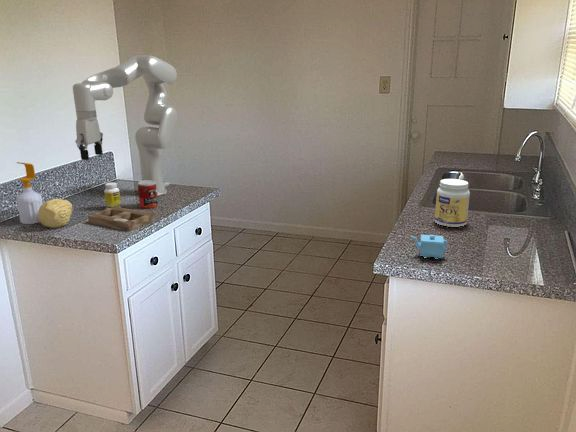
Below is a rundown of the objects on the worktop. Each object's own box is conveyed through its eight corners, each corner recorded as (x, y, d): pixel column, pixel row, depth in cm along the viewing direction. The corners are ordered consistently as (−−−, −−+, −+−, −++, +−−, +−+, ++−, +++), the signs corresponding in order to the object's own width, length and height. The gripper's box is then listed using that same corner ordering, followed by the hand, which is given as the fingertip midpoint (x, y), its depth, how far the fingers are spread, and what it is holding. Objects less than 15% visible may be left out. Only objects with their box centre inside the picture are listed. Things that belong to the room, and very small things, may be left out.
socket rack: (115, 213, 224) (114, 205, 223) (154, 220, 214) (153, 213, 213) (88, 222, 212) (87, 214, 211) (129, 231, 202) (128, 223, 201)
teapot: (409, 258, 174) (410, 237, 172) (409, 251, 180) (410, 230, 178) (447, 261, 172) (449, 239, 169) (446, 254, 177) (448, 233, 175)
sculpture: (58, 231, 203) (54, 204, 199) (33, 228, 207) (29, 201, 203) (79, 222, 213) (75, 196, 209) (55, 219, 217) (51, 194, 213)
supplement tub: (432, 226, 204) (435, 184, 198) (436, 217, 214) (439, 176, 209) (465, 230, 199) (470, 187, 194) (467, 220, 210) (472, 179, 205)
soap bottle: (15, 223, 212) (4, 163, 205) (33, 216, 220) (23, 158, 213) (33, 225, 209) (22, 164, 202) (50, 218, 217) (40, 160, 210)
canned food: (145, 210, 227) (142, 185, 224) (136, 206, 233) (134, 182, 230) (161, 206, 232) (159, 182, 229) (152, 202, 238) (150, 179, 234)
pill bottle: (116, 210, 227) (113, 185, 224) (103, 209, 228) (100, 185, 225) (123, 206, 233) (121, 182, 230) (110, 205, 234) (108, 181, 231)
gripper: (90, 111, 220) (96, 152, 226) (64, 118, 204) (71, 161, 210) (106, 112, 219) (112, 153, 224) (81, 118, 203) (88, 162, 208)
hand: (92, 157), depth 217 cm, fingers open, 9 cm apart
